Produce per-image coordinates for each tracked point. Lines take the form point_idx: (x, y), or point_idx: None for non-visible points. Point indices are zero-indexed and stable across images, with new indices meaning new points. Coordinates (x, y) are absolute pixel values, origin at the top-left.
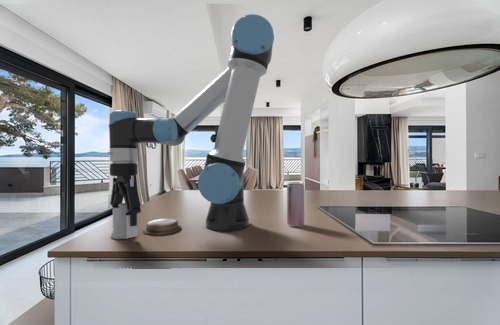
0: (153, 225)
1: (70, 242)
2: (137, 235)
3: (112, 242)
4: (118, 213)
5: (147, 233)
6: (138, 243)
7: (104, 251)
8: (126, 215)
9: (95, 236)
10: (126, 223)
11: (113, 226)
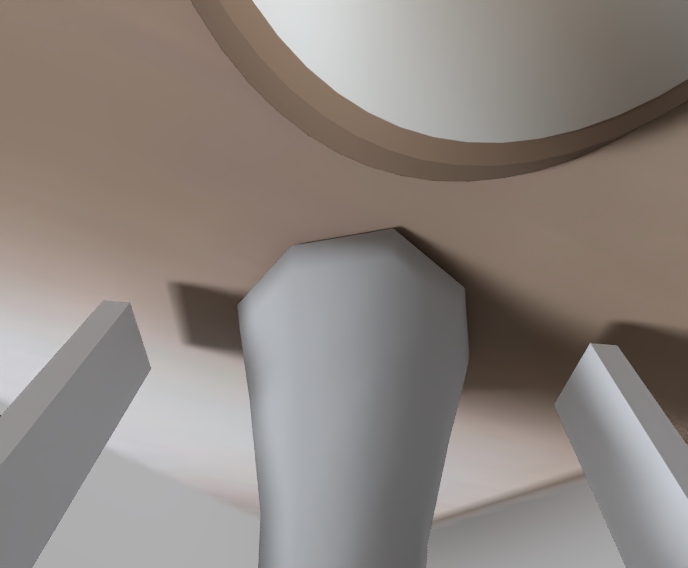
0: (615, 114)
1: (244, 505)
2: (618, 351)
3: None
4: (32, 492)
5: (516, 169)
6: (669, 339)
7: (570, 481)
8: (420, 561)
9: (196, 427)
10: (441, 461)
11: (138, 386)
